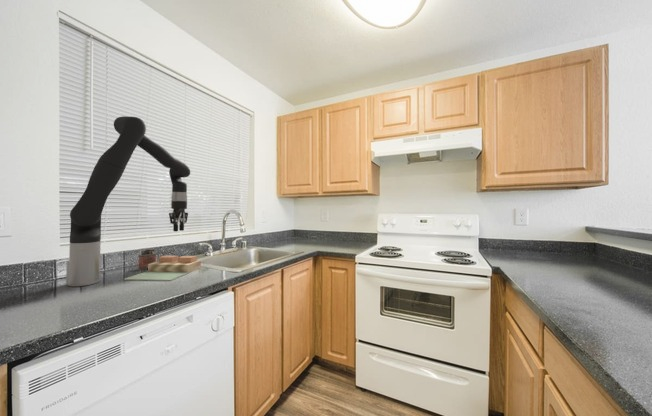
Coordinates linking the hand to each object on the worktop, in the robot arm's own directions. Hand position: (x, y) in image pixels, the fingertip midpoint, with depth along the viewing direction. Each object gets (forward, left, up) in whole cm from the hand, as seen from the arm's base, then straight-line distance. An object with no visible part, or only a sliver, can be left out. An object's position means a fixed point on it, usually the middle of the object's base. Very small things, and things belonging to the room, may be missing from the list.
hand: (178, 230), depth 138 cm
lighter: (-12, -7, -20) cm, 24 cm away
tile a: (0, -8, -14) cm, 16 cm away
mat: (+5, -23, -19) cm, 30 cm away
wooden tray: (+5, -10, -19) cm, 22 cm away
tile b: (+10, -8, -14) cm, 19 cm away
